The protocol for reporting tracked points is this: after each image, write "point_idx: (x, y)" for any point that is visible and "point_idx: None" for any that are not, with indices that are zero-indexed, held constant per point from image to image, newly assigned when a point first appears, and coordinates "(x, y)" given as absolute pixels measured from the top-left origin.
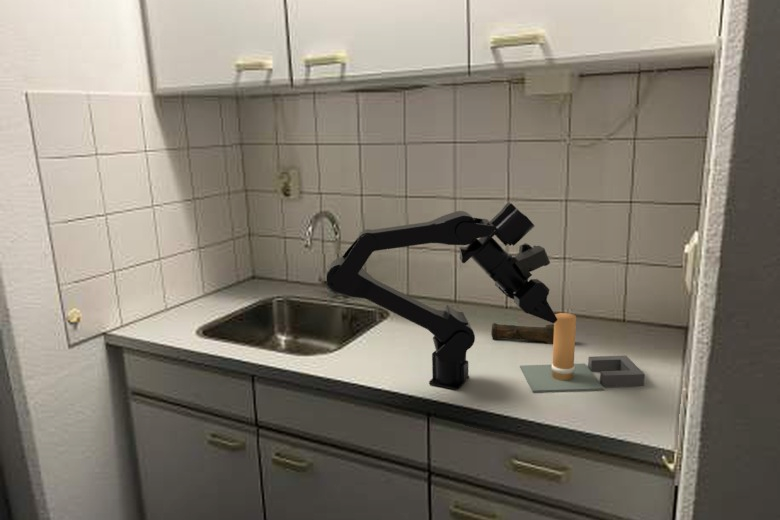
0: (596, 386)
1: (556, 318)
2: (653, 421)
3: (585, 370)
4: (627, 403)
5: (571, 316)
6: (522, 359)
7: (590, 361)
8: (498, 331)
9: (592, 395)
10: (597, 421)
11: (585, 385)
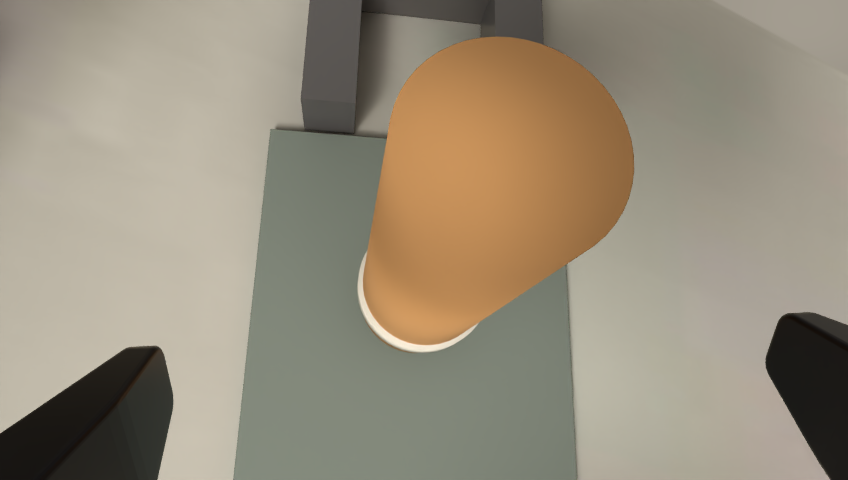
0: None
1: (833, 324)
2: (801, 95)
3: (359, 158)
4: (672, 118)
5: (523, 83)
6: None
7: (338, 108)
8: None
9: None
10: (825, 292)
11: None
